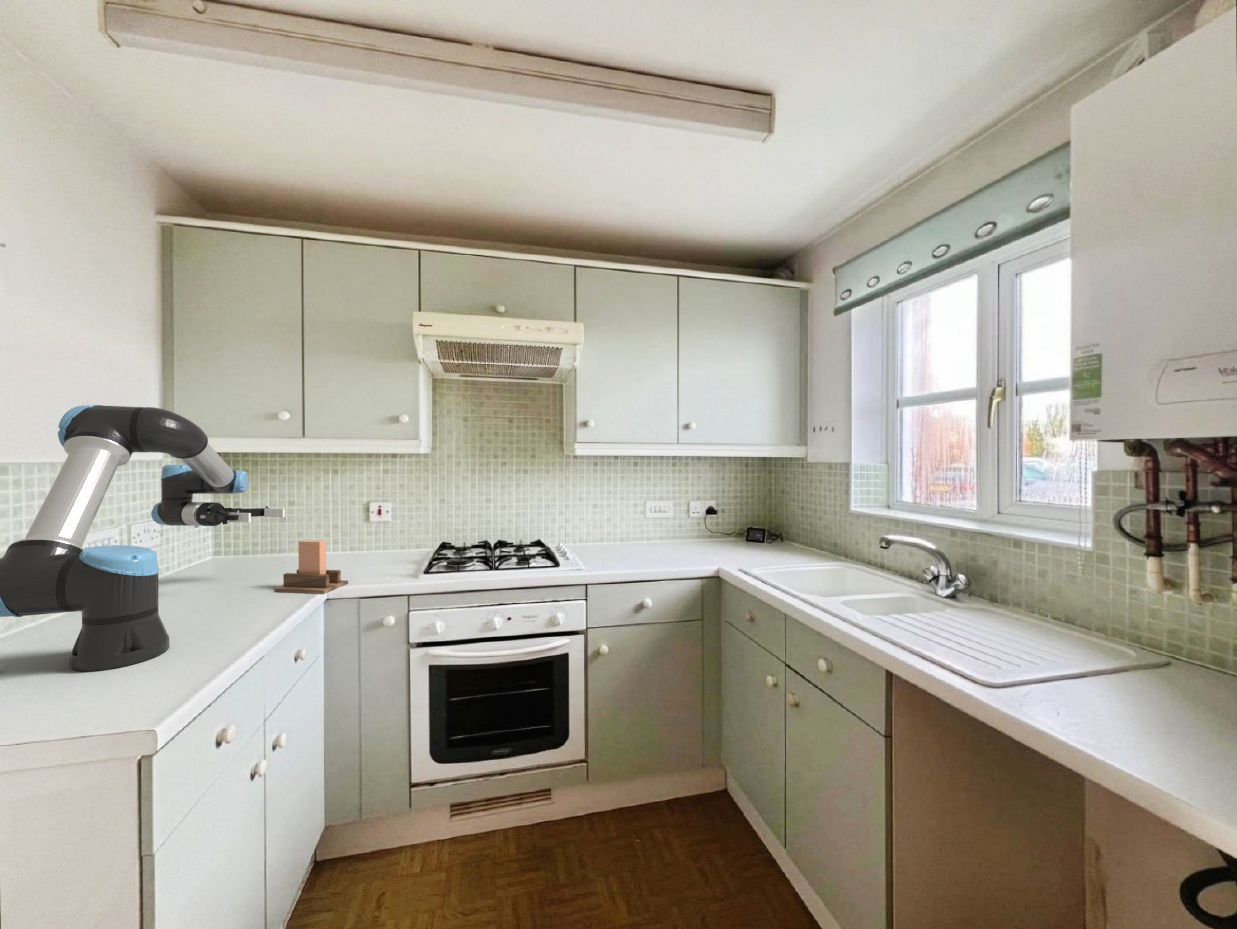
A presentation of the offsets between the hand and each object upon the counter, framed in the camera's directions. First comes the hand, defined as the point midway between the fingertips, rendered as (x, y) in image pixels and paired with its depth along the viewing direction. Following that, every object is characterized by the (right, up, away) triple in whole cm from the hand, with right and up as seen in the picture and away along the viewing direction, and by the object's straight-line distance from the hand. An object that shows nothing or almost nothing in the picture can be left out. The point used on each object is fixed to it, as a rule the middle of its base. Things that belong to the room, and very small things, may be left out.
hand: (267, 515), depth 158 cm
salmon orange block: (+13, -22, +3) cm, 26 cm away
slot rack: (+13, -23, +3) cm, 27 cm away
